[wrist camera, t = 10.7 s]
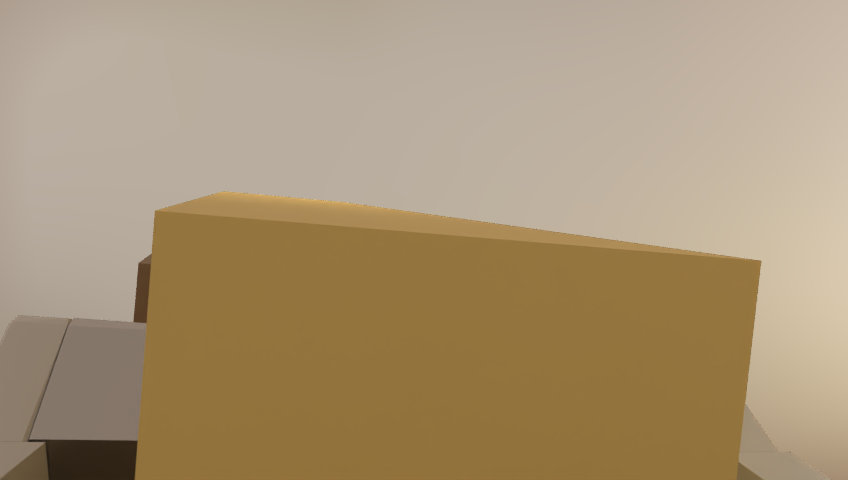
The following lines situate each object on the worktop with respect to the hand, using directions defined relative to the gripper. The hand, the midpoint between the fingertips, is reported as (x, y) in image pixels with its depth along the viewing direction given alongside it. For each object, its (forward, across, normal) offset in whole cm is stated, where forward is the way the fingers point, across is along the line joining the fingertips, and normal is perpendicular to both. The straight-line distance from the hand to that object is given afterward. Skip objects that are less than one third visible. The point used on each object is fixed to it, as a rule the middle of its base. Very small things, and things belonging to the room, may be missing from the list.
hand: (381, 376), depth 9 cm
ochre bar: (+6, 0, +7) cm, 9 cm away
